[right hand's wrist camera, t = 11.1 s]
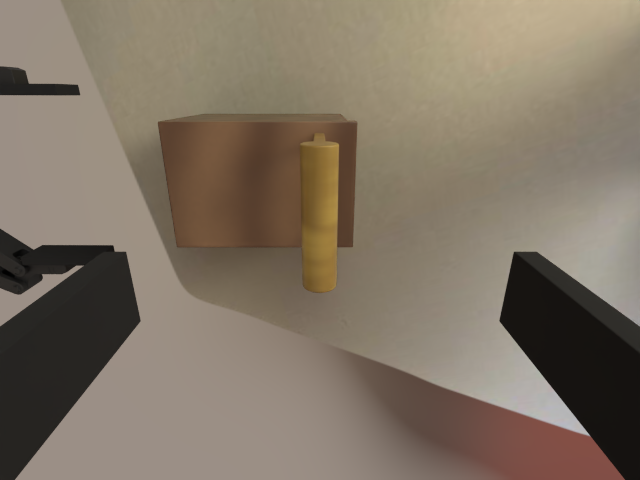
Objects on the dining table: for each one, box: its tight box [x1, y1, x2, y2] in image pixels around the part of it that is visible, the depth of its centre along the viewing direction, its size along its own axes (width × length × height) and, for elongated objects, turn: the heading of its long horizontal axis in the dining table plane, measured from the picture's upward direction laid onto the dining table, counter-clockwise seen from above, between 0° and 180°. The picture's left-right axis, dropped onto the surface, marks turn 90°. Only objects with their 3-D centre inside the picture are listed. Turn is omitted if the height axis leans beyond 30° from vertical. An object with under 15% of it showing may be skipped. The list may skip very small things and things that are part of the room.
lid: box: [158, 121, 357, 293], centre depth 23 cm, size 13×9×9 cm
